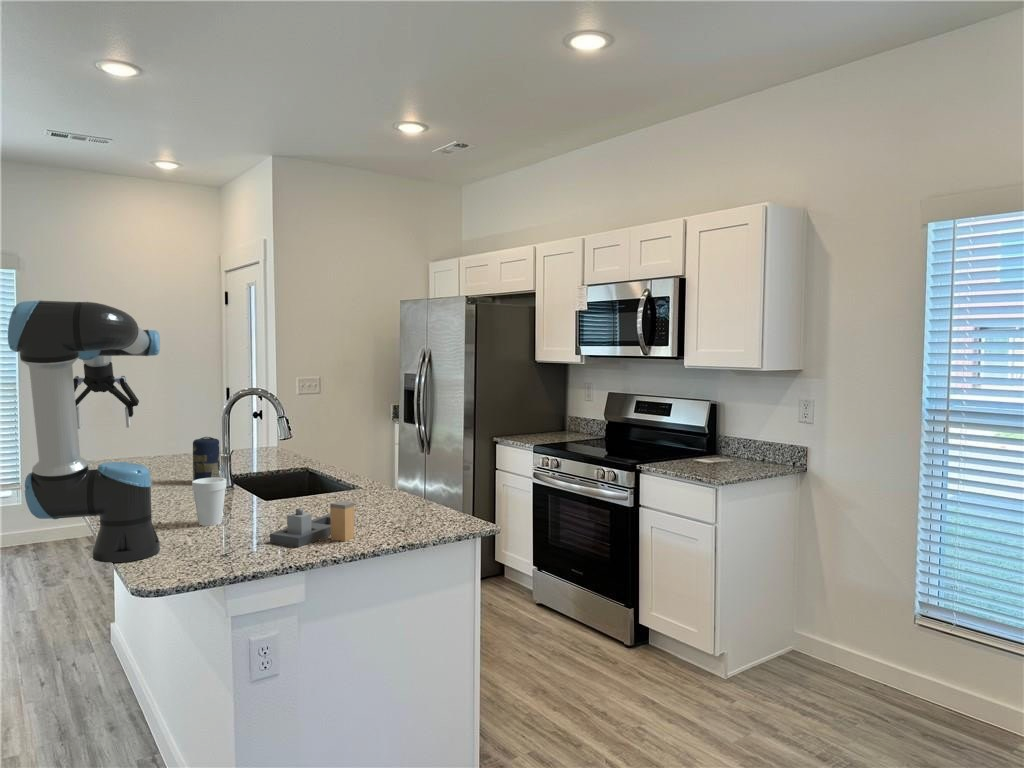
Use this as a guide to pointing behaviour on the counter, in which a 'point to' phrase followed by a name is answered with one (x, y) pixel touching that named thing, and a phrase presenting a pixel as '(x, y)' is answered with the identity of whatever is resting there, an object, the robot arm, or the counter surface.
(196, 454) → the canister
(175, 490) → the counter surface
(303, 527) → the gray fixture base
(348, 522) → the plug
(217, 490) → the foam cup
